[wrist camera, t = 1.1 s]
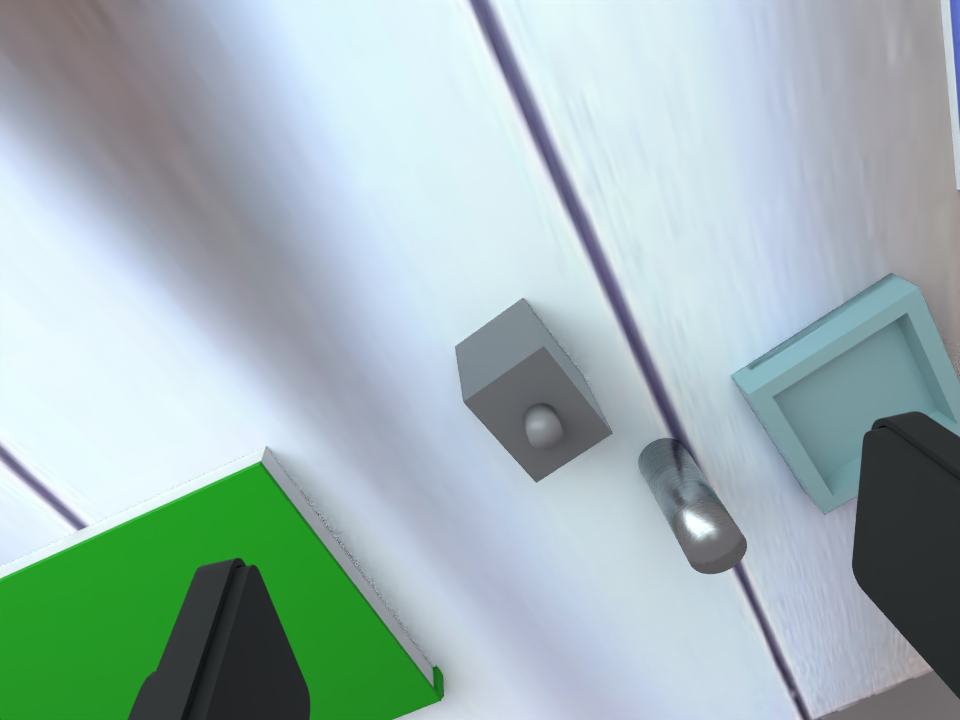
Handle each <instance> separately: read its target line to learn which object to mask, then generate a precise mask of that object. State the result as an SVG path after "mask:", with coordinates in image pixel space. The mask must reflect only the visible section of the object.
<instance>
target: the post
mask: <svg viewBox="0 0 960 720" xmlns="http://www.w3.org/2000/svg"><path fill="white" fill-rule="evenodd" d="M639 468H640V470H641V472H642V474H643V476H644V478H645V480H646V482H647V483H648V485H649V487H650V489H651V491H652V493H653V495H654V497H655V499H656V501H657V502H658V504H659V506H660V508H661V510H662V512H663V514H664V516H665V518H666V519H667V521H668V523H669V525H670V527H671V529H672V531H673V533H674V535H675V536H676V538H677V540H678V542H679V544H680V546H681V548H682V550H683V552H684V554H685V555H686V557H687V559H688V561H689V563H690V565H691V566H692V567H693V568H694V569H695V570H696V571H698V572H701V573H704V574H716V573H721V572H724V571H726V570H728V569H730V568H732V567H734V566H735V565H736V564H737V563H738V562H739V561H740V560H741V559H742V558H743V556H744V554H745V552H746V548H747V542H746V539H745V537H744V536H743V534H742V533H741V531H740V530H739V528H738V527H737V525H736V524H735V522H734V521H733V519H732V517H731V516H730V514H729V513H728V511H727V510H726V508H725V507H724V505H723V504H722V502H721V501H720V499H719V498H718V496H717V495H716V493H715V492H714V490H713V489H712V487H711V486H710V484H709V483H708V481H707V480H706V478H705V477H704V475H703V474H702V472H701V471H700V469H699V468H698V466H697V465H696V463H695V462H694V460H693V459H692V457H691V456H690V454H689V453H688V451H687V450H686V448H685V447H684V445H683V444H682V443H681V442H679V441H677V440H675V439H669V438H666V439H660V440H657V441H654V442H652V443H651V444H649V445H648V446H647V447H646V448H645V449H644V450H643V451H642V453H641V455H640V457H639Z"/></svg>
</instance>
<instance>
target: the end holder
mask: <svg viewBox="0 0 960 720" xmlns="http://www.w3.org/2000/svg"><path fill="white" fill-rule="evenodd" d="M731 377H732V378H733V380H734V381H735V383H736V384H737V386H738V388H739V389H740V391H741V392H742V394H743V395H744V397H745V399H746V400H747V402H748V403H749V405H750V406H751V408H752V410H753V411H754V413H755V414H756V416H757V418H758V419H759V421H760V422H761V424H762V425H763V427H764V429H765V430H766V432H767V433H768V435H769V436H770V438H771V440H772V441H773V443H774V444H775V446H776V447H777V449H778V451H779V452H780V454H781V455H782V457H783V459H784V460H785V462H786V463H787V465H788V466H789V468H790V470H791V471H792V473H793V474H794V476H795V477H796V479H797V481H798V482H799V484H800V485H801V487H802V488H803V490H804V492H805V493H806V494H807V495H808V497H809V498H810V499H811V500H812V501H813V502H814V503H815V505H816V506H817V507H818V508H819V509H820V510H821V512H822V513H823V514H824V515H825V514H827V513H828V512H830V511H832V510H834V509H835V508H837V507H839V506H841V505H842V504H844V503H846V502H848V501H849V500H851V499H853V498H855V497H856V496H858V490H859V479H860V467H861V456H862V445H863V438H864V435H865V433H866V432H868V431H870V430H871V428H872V425H873V423H874V422H875V421H876V420H878V419H880V418H884V417H889V416H894V415H898V414H903V413H907V412H912V411H918V412H921V413H923V414H926V415H927V416H929V417H930V418H932V419H933V420H935V421H936V422H938V423H939V424H941V425H942V426H944V427H945V428H947V429H948V430H950V431H951V432H953V433H954V434H956V435H957V436H959V437H960V382H959V379H958V377H957V374H956V372H955V370H954V367H953V365H952V363H951V360H950V358H949V356H948V353H947V351H946V349H945V346H944V344H943V342H942V339H941V337H940V335H939V332H938V330H937V328H936V325H935V323H934V321H933V318H932V316H931V314H930V311H929V309H928V307H927V304H926V302H925V300H924V297H923V295H922V293H921V290H920V288H919V287H918V286H916V285H914V284H912V283H910V282H908V281H906V280H904V279H902V278H900V277H898V276H896V275H894V274H892V273H891V274H889V275H888V276H886V277H885V278H883V279H881V280H880V281H878V282H877V283H875V284H874V285H872V286H871V287H869V288H867V289H866V290H864V291H863V292H861V293H860V294H858V295H857V296H855V297H853V298H852V299H850V300H849V301H847V302H846V303H844V304H842V305H841V306H839V307H838V308H836V309H835V310H833V311H832V312H830V313H828V314H827V315H825V316H824V317H822V318H821V319H819V320H818V321H816V322H814V323H813V324H811V325H810V326H808V327H807V328H805V329H803V330H802V331H800V332H799V333H797V334H796V335H794V336H793V337H791V338H789V339H788V340H786V341H785V342H783V343H782V344H780V345H779V346H777V347H775V348H774V349H772V350H771V351H769V352H768V353H766V354H764V355H763V356H761V357H760V358H758V359H757V360H755V361H754V362H752V363H750V364H749V365H747V366H746V367H744V368H743V369H741V370H739V371H738V372H736V373H735V374H733V375H732V376H731Z"/></svg>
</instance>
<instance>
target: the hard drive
mask: <svg viewBox="0 0 960 720" xmlns="http://www.w3.org/2000/svg"><path fill="white" fill-rule="evenodd" d="M941 10H942V23H943V34H944V46H945V57H946V69H947V80H948V92H949V103H950V115H951V126H952V138H953V149H954V161H955V172H956V185H957V190H960V0H941Z"/></svg>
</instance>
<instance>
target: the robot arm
mask: <svg viewBox="0 0 960 720" xmlns="http://www.w3.org/2000/svg"><path fill="white" fill-rule="evenodd" d="M852 568H853V573H854V576H855V578H856V580H857V582H858V584H859V586H860V587H861V588H862V590H863V591H864V592H865V593H866V594H867V595H868V597H869V598H870V599H871V600H872V601H873V602H874V603H875V604H876V606H877V607H878V608H879V609H880V610H881V611H882V612H883V613H884V615H885V616H886V617H887V618H888V619H889V620H890V621H891V622H892V624H893V625H894V626H895V627H896V628H897V629H898V630H899V632H900V633H901V634H902V635H903V636H904V637H905V638H906V639H907V641H908V642H909V643H910V644H911V645H912V646H913V647H914V648H915V650H916V651H917V652H918V653H919V654H920V655H921V656H922V657H923V659H924V660H925V661H926V662H927V663H928V664H929V665H930V666H931V668H932V669H933V670H934V671H935V672H936V673H937V674H938V675H939V677H940V678H941V679H942V680H943V681H944V682H945V683H946V684H947V685H948V686H949V688H950V689H951V690H952V691H953V692H954V693H955V695H956V696H957V697H958V698H959V699H960V437H959V436H957V435H956V434H954V433H953V432H951V431H950V430H948V429H947V428H945V427H944V426H942V425H941V424H939V423H938V422H936V421H935V420H933V419H932V418H930V417H929V416H927V415H926V414H923V413H921V412H918V411H912V412H907V413H903V414H898V415H894V416H889V417H884V418H880V419H878V420H876V421H875V422H874V423H873V425H872V428H871V430H870V431H868V432H866V433H865V435H864V438H863V445H862V456H861V467H860V479H859V490H858V502H857V513H856V525H855V536H854V548H853V559H852ZM309 719H310V695H309V690H308V687H307V684H306V682H305V679H304V677H303V674H302V672H301V670H300V667H299V665H298V662H297V660H296V658H295V655H294V653H293V650H292V648H291V646H290V643H289V641H288V638H287V636H286V634H285V631H284V629H283V626H282V624H281V621H280V619H279V617H278V614H277V612H276V609H275V607H274V605H273V602H272V600H271V597H270V595H269V593H268V590H267V588H266V585H265V583H264V581H263V578H262V576H261V573H260V571H259V569H258V567H257V566H256V565H249V566H246V564H245V563H244V561H243V560H242V559H241V558H234V559H230V560H225V561H220V562H216V563H211V564H207V565H202V566H200V567H199V568H197V570H196V572H195V574H194V576H193V579H192V581H191V584H190V586H189V589H188V591H187V594H186V596H185V599H184V601H183V604H182V607H181V609H180V612H179V614H178V617H177V619H176V622H175V624H174V627H173V629H172V632H171V634H170V637H169V639H168V642H167V644H166V647H165V649H164V652H163V655H162V657H161V660H160V662H159V665H158V667H157V670H156V671H155V672H152V673H151V674H150V675H149V676H148V677H147V678H146V679H145V681H144V683H143V684H142V686H141V688H140V690H139V692H138V695H137V697H136V700H135V702H134V705H133V707H132V710H131V712H130V714H129V717H128V719H127V720H309Z"/></svg>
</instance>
